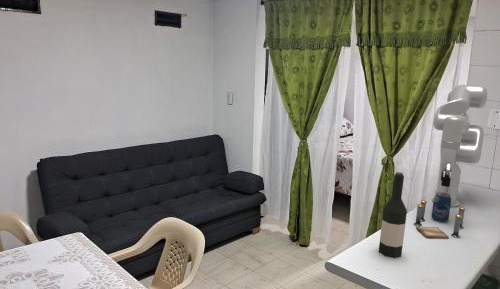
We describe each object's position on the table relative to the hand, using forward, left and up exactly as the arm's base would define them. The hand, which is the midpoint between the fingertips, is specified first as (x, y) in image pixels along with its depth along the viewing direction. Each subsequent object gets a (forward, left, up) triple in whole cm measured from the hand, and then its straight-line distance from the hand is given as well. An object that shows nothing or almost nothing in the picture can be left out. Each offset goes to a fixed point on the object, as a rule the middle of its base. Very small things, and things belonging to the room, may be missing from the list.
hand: (444, 183), depth 167 cm
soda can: (0, 0, -17) cm, 17 cm away
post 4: (+7, +5, -17) cm, 19 cm away
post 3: (+16, -2, -17) cm, 24 cm away
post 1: (+6, -13, -17) cm, 22 cm away
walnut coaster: (+15, -11, -17) cm, 25 cm away
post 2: (+1, -9, -17) cm, 19 cm away
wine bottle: (+32, -35, -17) cm, 50 cm away
